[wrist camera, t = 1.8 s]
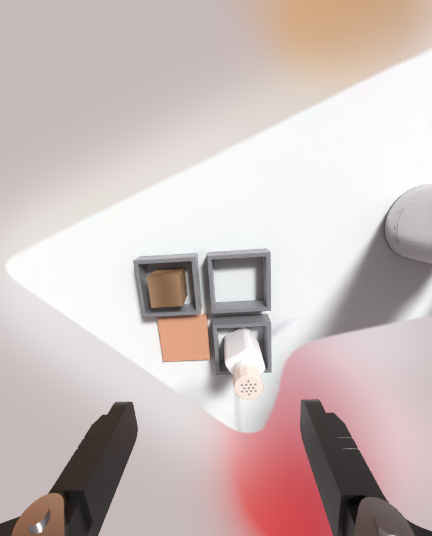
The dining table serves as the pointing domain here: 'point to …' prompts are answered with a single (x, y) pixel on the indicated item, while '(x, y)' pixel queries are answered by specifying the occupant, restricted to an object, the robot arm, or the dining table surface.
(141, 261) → the bin with cube
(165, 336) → the terracotta pad
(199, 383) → the dining table surface
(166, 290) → the walnut cube
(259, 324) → the shaker bin
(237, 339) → the salt shaker
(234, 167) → the dining table surface
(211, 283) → the empty bin
